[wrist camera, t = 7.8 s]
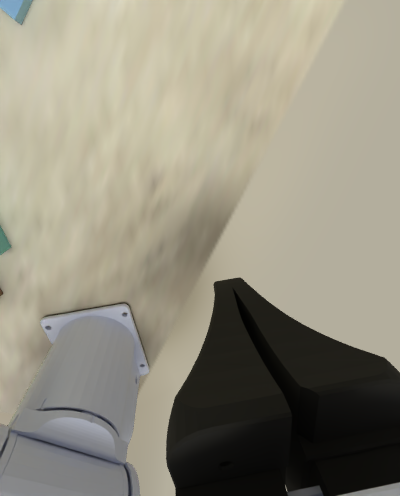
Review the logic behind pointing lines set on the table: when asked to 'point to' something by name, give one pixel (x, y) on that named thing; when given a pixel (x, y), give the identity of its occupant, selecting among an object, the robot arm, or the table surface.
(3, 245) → the teal slab tile
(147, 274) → the table surface
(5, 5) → the light blue flat pad
